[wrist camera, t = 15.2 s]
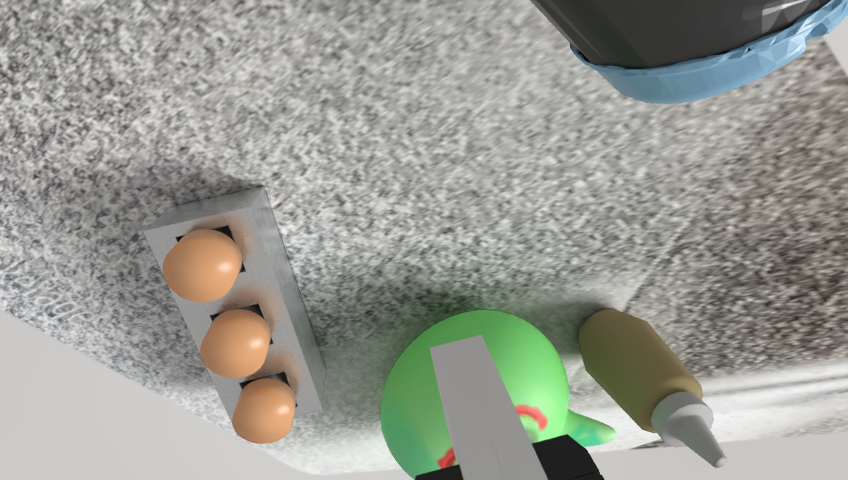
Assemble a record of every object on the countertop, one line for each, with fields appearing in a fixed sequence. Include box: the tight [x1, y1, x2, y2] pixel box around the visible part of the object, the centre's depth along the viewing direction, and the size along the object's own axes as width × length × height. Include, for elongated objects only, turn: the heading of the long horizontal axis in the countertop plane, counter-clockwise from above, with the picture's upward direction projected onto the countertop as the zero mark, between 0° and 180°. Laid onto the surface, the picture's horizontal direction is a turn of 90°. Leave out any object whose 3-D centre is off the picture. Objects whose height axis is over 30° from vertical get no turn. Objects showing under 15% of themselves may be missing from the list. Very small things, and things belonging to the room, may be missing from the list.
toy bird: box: [380, 310, 616, 479], centre depth 44 cm, size 18×17×15 cm
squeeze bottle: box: [578, 309, 727, 468], centre depth 44 cm, size 8×8×18 cm
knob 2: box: [232, 372, 296, 444], centre depth 43 cm, size 5×5×8 cm
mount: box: [143, 186, 326, 422], centre depth 42 cm, size 20×8×6 cm, turn 11°
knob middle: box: [200, 304, 271, 378], centre depth 40 cm, size 5×5×8 cm
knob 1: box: [163, 225, 242, 303], centre depth 37 cm, size 5×5×8 cm
